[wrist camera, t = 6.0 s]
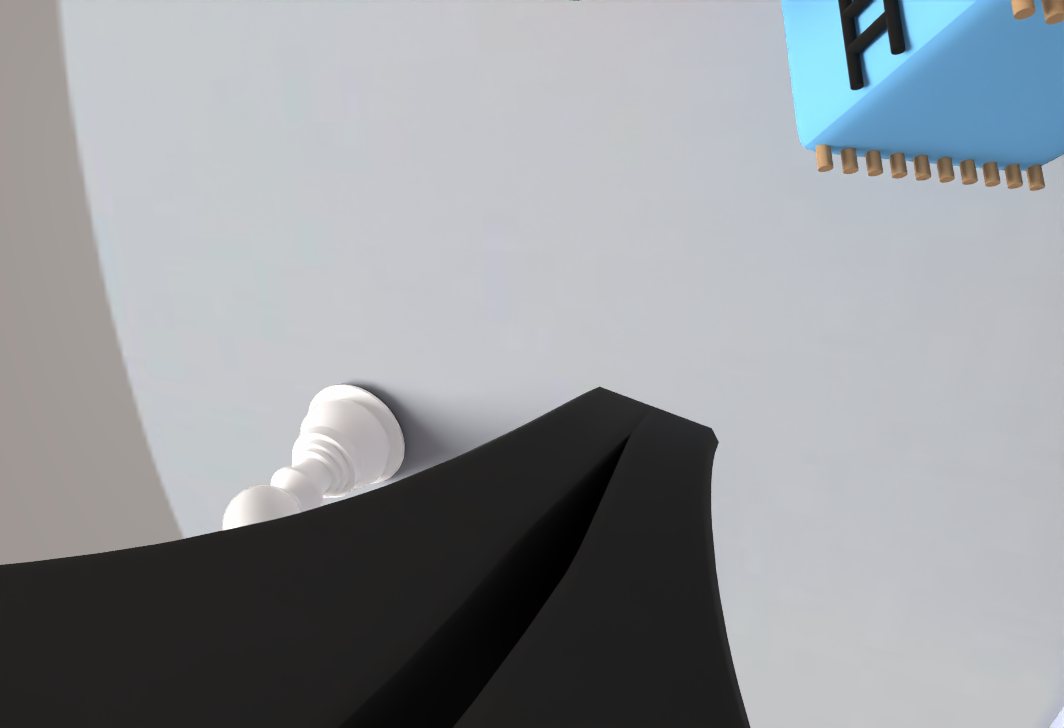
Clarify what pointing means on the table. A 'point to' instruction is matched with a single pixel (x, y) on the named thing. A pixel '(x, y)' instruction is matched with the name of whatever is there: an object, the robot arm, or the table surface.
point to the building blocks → (930, 85)
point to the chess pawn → (327, 457)
